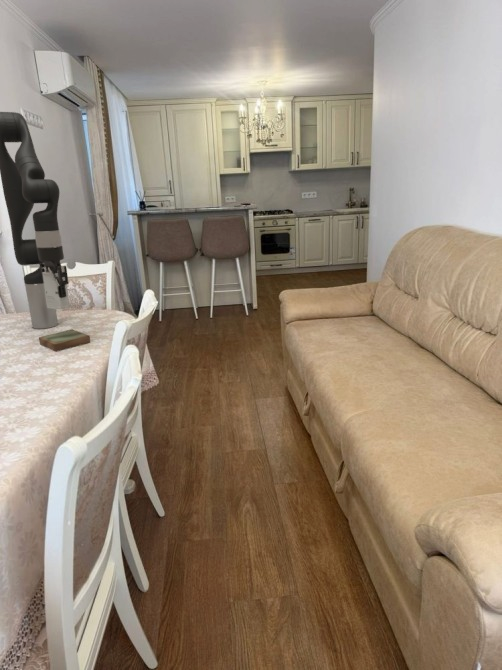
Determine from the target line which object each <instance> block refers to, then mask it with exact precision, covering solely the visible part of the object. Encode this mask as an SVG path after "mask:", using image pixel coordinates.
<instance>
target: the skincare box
mask: <svg viewBox="0 0 502 670" xmlns="http://www.w3.org/2000/svg"><path fill="white" fill-rule="evenodd" d="M55 276H56V277H58V273H55ZM58 280H59V279H58ZM64 280H65V277H64ZM43 281H44V288H45V296H46V303H47V308H52V309H56V310H64V309H67V308H69V307H70V300H69V290H68V284H66V285H65V289H66V297H63V298H60V297H59V294H58V288H57V287H58V286H57V284H56V281H54V280H53V278H52V275H51V273H50V272H43Z"/></svg>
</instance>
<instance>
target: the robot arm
mask: <svg viewBox="0 0 502 670" xmlns="http://www.w3.org/2000/svg"><path fill="white" fill-rule="evenodd" d="M6 143H20V145H19V147H18V148H17V151H16V153H15V156H14V159H13V158H12V156H11V155H10V153H9V151H8V149H7V147H6ZM35 150H36V149H35V146H34V141H33V138H32V136H31V132H30V129H29V126H28V123H27V121H26V119H25V117H24V116H23V115H22V114H21V113H20V112H15V111H0V178H1V184H2V185H1V187H2V189H3V190H2V192H3V196H4V197H3V198H4V200H5V205H6V208H7V209H6V211H7V214H8V218H9V222H10V224H9V225H10V229H11V230H10V231H11V236H12V243H13V244H12V245H13V250H14V257H15V259H16V262H17V264H19V266H28V265H29V266H30V265H39V267H38V268H37V269H35V270H34V271H32V272H30V273H27V274H26V275H24V277H23V281H24V286H25V292H26V293H25V294H26V297H27V303H28V308H29V314H30V320H31V325H32V326H31V327H32V328H33V329H36V330H37V329H48V328H53V327H54V328H55V327H56V326H58V325H59V322H58V313H57V309H52V308H47V303H46V296H45V288H44V281H43V272H50V273H51V275H52V278H53V280H54V281H56V284H57V286H58V287H57V288H58V294H59V297H60V298H63V297H66V289H65V285H66V284H67V285H68V284H69V277H68V269H67V266H66V265H62V264H61V261H62V260H64V258H65V255H64V247H63V244H62V235H61V234H60V229H59V221H58V208H59V207H58V206H59V200H60V188H59V185H58V183H57V182H56V181H55V180H53V179H45V177H46V173H45V171H44V169H43V166H42V164H41V162H40V161H39V158H38V155H37V154H36V153H37V152H36V151H35ZM35 204H47V206H46V208H45V209H43V210H39V211H36V212H33V214H32V222H33V228H34V233H35V234H34V236H35V237H34V238H33V239H31V238H29V239H23V232H24V228H25V225H26V222H27V220H28V219H29V216H30V214H31V212H32V210H33V207H34V205H35ZM55 273H58V277H56V276H55ZM64 277H65V280H64ZM58 279H59V280H58Z"/></svg>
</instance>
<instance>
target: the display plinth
mask: <svg viewBox="0 0 502 670" xmlns="http://www.w3.org/2000/svg"><path fill="white" fill-rule="evenodd" d="M38 341H39V345H41V346H43V347H45V348H47V349H49V350H52V351H54V352H59V351H60V352H61V351H64V350H67V349H72V348H75V347H78V346H83V345H86V344H89V343H91V338H90V335H89V334H87V333H84V332H81V331H78V330H75V329H72V328H71V329H69V330H64V331H60V332H56V333H52V334H48V335H44V336H39V337H38Z"/></svg>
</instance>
